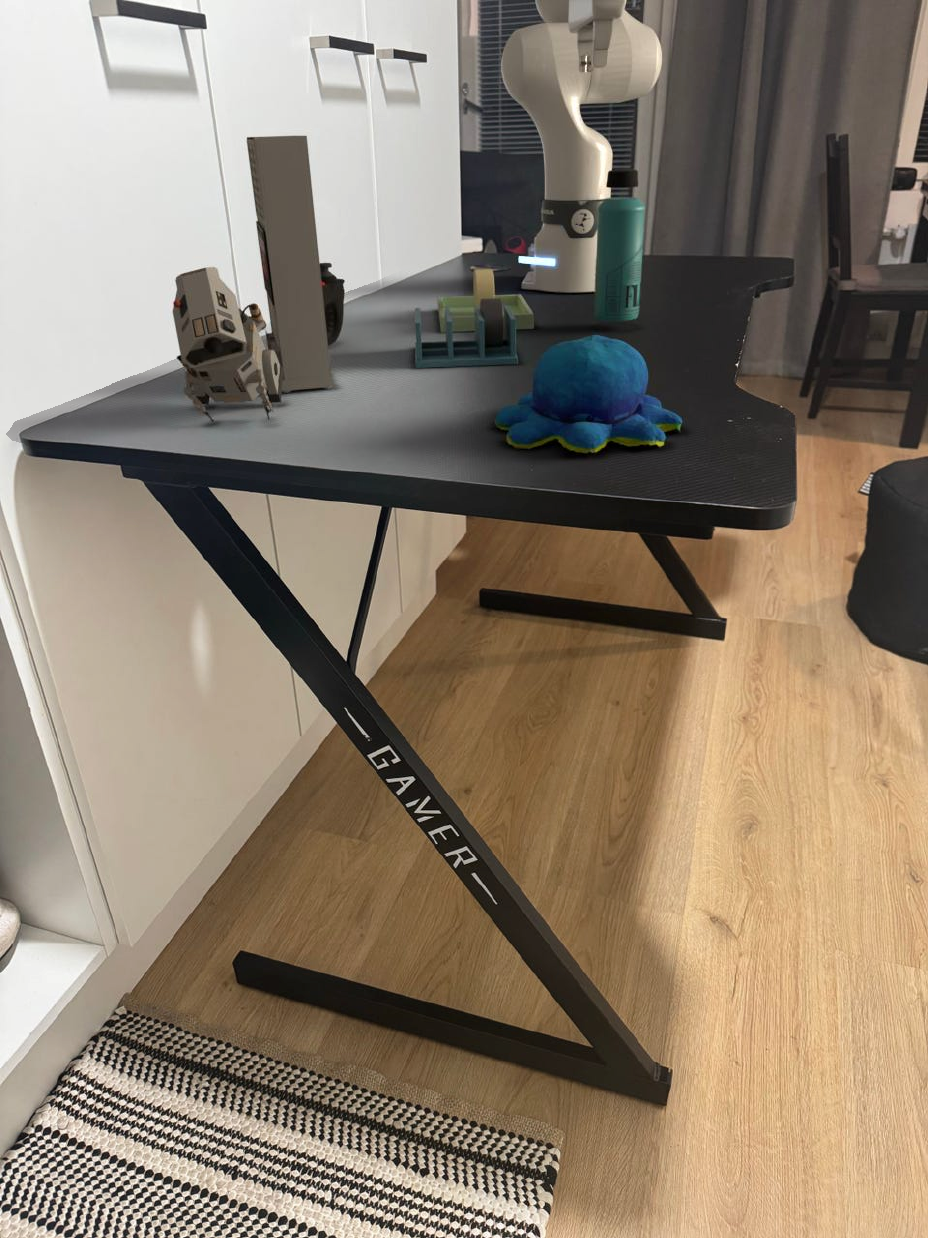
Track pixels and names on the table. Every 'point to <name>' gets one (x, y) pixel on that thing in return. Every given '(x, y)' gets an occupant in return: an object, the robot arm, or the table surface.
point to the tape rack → (466, 345)
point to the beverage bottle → (619, 251)
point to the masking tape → (483, 285)
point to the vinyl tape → (492, 321)
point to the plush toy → (588, 400)
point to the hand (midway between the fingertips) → (592, 69)
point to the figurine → (222, 344)
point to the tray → (465, 312)
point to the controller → (332, 302)
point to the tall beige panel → (290, 259)
